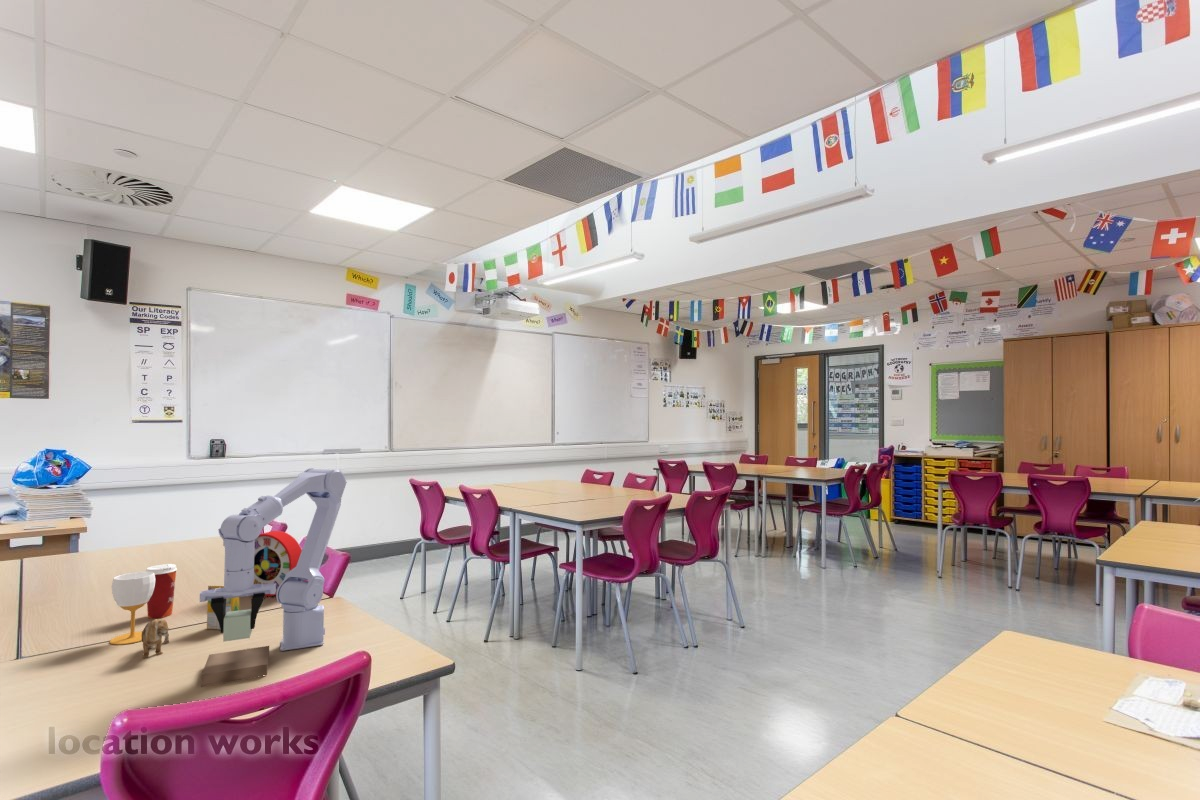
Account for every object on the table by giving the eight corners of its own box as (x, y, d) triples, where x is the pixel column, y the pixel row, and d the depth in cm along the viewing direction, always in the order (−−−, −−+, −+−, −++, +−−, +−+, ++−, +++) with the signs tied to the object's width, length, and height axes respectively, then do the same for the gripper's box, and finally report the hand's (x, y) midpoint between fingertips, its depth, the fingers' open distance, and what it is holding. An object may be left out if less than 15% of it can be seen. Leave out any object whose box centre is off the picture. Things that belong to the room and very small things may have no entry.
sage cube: (251, 630, 135) (252, 608, 135) (249, 638, 131) (250, 615, 131) (226, 634, 133) (226, 612, 133) (223, 641, 129) (223, 618, 129)
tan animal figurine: (168, 658, 139) (169, 619, 139) (139, 663, 136) (140, 624, 136) (169, 639, 151) (170, 604, 151) (143, 643, 148) (144, 607, 148)
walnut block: (269, 658, 140) (269, 645, 140) (266, 678, 129) (266, 664, 129) (208, 668, 134) (209, 654, 134) (201, 689, 123) (201, 674, 124)
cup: (102, 641, 150) (104, 577, 150) (143, 630, 158) (145, 569, 158) (120, 647, 145) (122, 581, 146) (161, 635, 153) (163, 573, 154)
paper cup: (181, 614, 171) (182, 565, 171) (150, 621, 164) (151, 571, 165) (169, 609, 175) (170, 562, 175) (138, 616, 168) (139, 567, 169)
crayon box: (239, 626, 160) (240, 583, 161) (231, 630, 157) (232, 586, 158) (214, 625, 161) (215, 582, 162) (206, 629, 158) (207, 585, 159)
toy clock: (235, 595, 189) (236, 533, 190) (249, 590, 195) (250, 529, 195) (291, 598, 186) (292, 534, 186) (303, 593, 191) (304, 531, 192)
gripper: (197, 576, 126) (196, 640, 125) (274, 568, 132) (273, 630, 131) (203, 568, 132) (202, 630, 132) (276, 562, 138) (275, 620, 138)
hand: (238, 629), depth 132 cm, fingers closed on sage cube, 5 cm apart
